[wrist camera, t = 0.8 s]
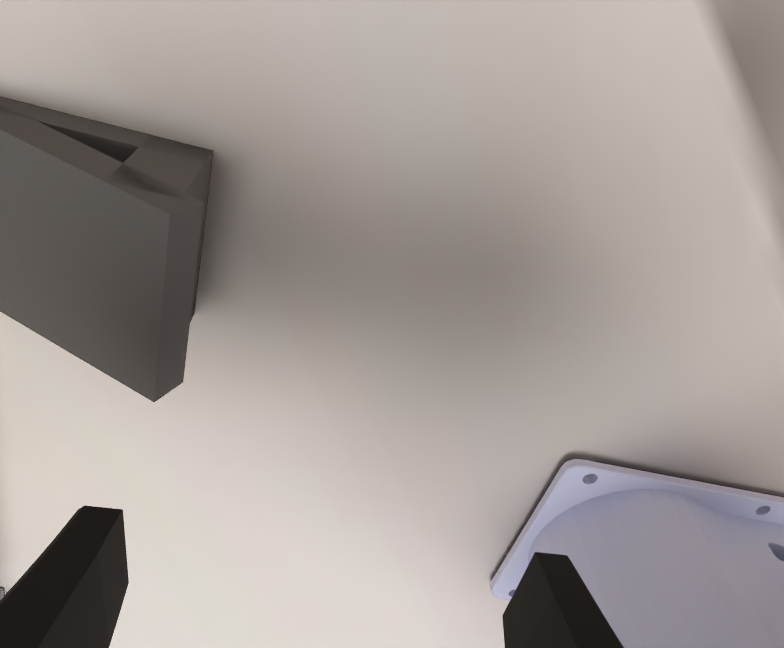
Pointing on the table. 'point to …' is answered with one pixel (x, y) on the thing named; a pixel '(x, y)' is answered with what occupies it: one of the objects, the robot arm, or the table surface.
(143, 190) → the wedge
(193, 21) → the table surface
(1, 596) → the pair of grey posts
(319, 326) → the table surface
